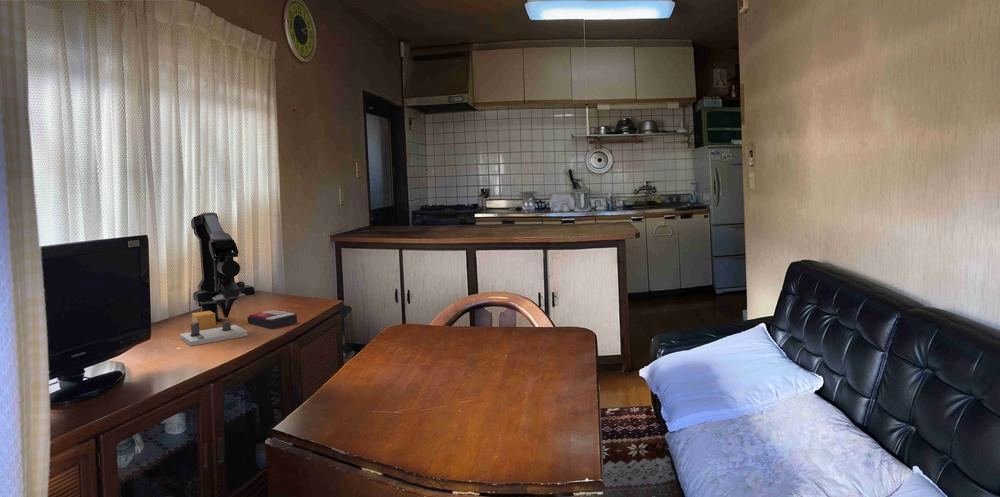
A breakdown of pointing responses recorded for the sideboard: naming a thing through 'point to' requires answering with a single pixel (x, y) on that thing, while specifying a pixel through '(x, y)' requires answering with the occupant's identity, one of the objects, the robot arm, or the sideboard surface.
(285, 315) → the calculator
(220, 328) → the panel
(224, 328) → the lever
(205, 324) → the light orange cube
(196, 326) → the breaker
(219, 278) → the robot arm
